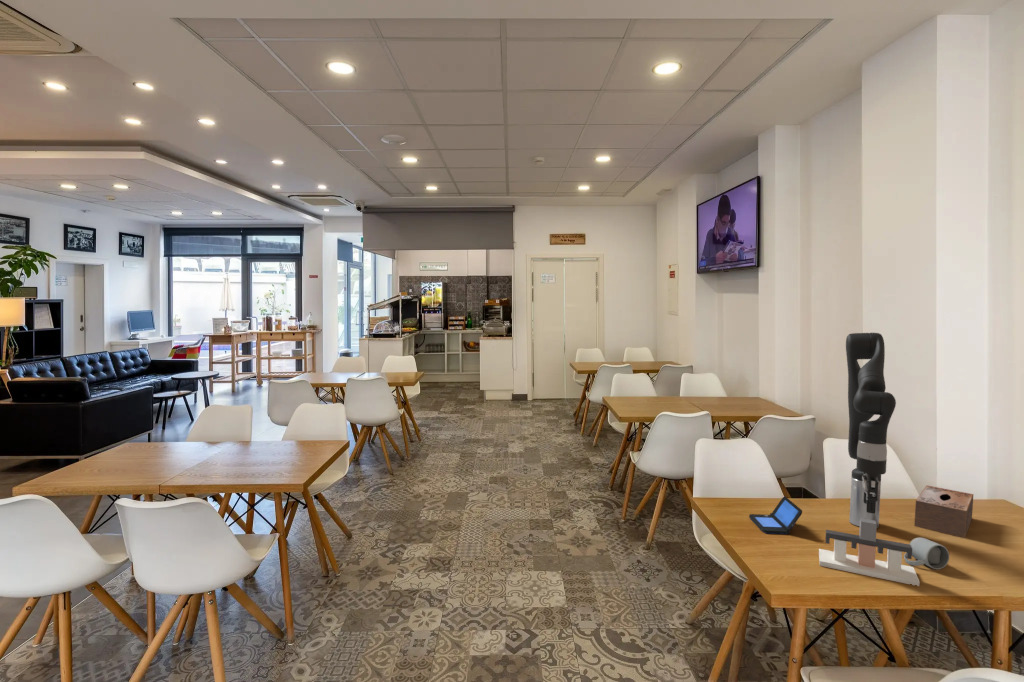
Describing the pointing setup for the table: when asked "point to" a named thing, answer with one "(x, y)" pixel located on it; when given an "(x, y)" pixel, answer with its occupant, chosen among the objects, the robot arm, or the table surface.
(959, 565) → the table surface
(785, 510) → the handheld game console
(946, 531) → the tissue box cover
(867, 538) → the gray bar
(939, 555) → the ceramic mug
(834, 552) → the display stand
